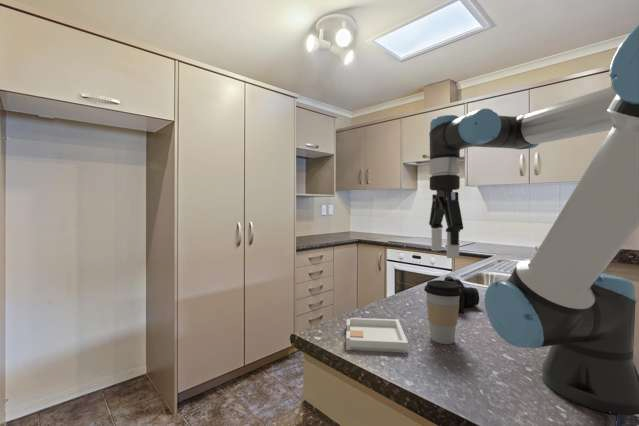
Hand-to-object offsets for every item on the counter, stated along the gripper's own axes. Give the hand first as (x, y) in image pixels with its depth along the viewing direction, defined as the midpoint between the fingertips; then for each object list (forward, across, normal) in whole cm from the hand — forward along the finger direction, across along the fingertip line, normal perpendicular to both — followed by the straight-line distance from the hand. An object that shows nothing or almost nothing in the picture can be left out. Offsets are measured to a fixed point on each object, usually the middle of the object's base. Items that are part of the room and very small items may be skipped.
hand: (444, 254), depth 83 cm
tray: (+23, -2, +19) cm, 30 cm away
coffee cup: (+23, -2, +1) cm, 23 cm away
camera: (+23, +26, -14) cm, 37 cm away
